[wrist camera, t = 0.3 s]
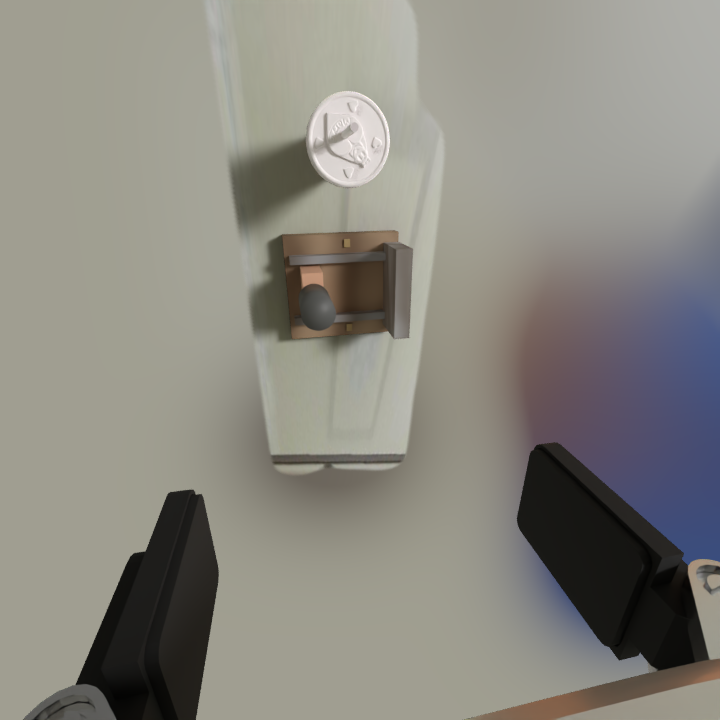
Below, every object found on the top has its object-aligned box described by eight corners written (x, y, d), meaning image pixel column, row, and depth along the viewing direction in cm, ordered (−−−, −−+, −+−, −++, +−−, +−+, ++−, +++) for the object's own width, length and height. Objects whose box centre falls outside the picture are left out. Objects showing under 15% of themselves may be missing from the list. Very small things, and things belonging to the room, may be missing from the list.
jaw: (298, 313, 41) (303, 342, 34) (295, 266, 39) (298, 286, 32) (326, 311, 42) (337, 339, 34) (324, 265, 40) (334, 284, 32)
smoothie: (333, 95, 35) (363, 47, 23) (378, 153, 38) (427, 138, 26) (286, 149, 36) (289, 130, 24) (333, 201, 39) (358, 209, 27)
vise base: (291, 334, 44) (293, 357, 38) (282, 234, 39) (282, 243, 34) (392, 326, 46) (408, 346, 40) (394, 230, 41) (413, 237, 36)
